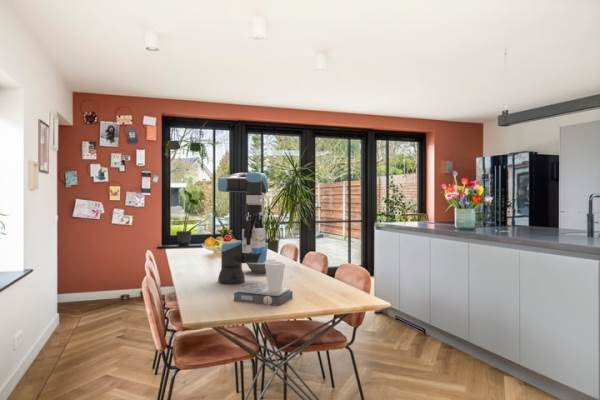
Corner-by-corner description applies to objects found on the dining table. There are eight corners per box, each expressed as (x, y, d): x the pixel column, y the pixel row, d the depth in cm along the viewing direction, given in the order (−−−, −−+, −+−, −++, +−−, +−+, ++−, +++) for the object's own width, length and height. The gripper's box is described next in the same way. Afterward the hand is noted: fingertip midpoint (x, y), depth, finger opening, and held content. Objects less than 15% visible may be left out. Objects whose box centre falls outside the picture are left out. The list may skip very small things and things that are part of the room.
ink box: (265, 251, 205) (265, 228, 205) (256, 253, 197) (257, 229, 197) (250, 250, 209) (251, 227, 208) (241, 252, 201) (241, 228, 201)
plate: (236, 291, 199) (236, 289, 199) (250, 286, 211) (250, 284, 211) (278, 296, 191) (278, 294, 191) (289, 290, 203) (289, 288, 203)
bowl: (281, 271, 272) (281, 256, 272) (263, 276, 256) (263, 261, 256) (257, 268, 283) (257, 254, 283) (238, 273, 266) (238, 258, 266)
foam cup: (285, 292, 195) (285, 264, 195) (265, 292, 194) (266, 264, 193) (283, 287, 204) (283, 261, 204) (264, 288, 203) (264, 261, 203)
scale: (233, 301, 199) (233, 292, 198) (249, 294, 213) (249, 285, 213) (279, 306, 190) (279, 297, 190) (292, 298, 204) (292, 290, 204)
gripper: (250, 204, 191) (249, 253, 192) (270, 203, 211) (270, 248, 211) (236, 204, 194) (235, 252, 194) (257, 203, 214) (257, 247, 214)
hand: (253, 250), depth 203 cm, fingers closed on ink box, 9 cm apart
